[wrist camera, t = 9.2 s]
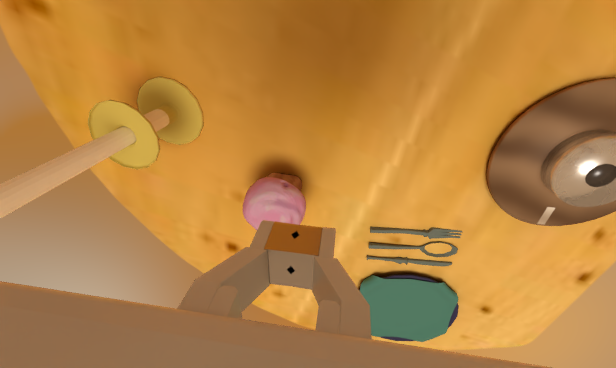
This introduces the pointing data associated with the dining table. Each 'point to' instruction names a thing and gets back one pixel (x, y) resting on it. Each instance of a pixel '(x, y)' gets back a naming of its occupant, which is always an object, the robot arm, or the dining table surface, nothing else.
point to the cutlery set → (410, 294)
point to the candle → (116, 139)
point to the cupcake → (275, 200)
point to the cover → (583, 169)
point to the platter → (539, 143)
